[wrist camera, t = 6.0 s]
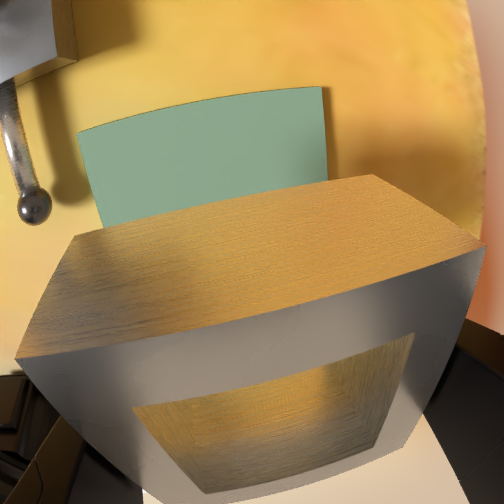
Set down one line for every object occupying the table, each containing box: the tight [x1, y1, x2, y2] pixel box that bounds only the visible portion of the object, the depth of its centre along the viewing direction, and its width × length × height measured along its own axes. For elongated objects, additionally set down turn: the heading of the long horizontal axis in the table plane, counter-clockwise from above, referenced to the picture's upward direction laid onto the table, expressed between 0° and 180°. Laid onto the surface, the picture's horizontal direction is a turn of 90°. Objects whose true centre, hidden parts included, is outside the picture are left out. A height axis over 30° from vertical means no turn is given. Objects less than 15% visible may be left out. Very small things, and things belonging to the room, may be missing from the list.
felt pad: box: [77, 87, 328, 228], centre depth 14 cm, size 10×10×1 cm
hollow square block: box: [15, 174, 486, 504], centre depth 7 cm, size 7×7×4 cm
